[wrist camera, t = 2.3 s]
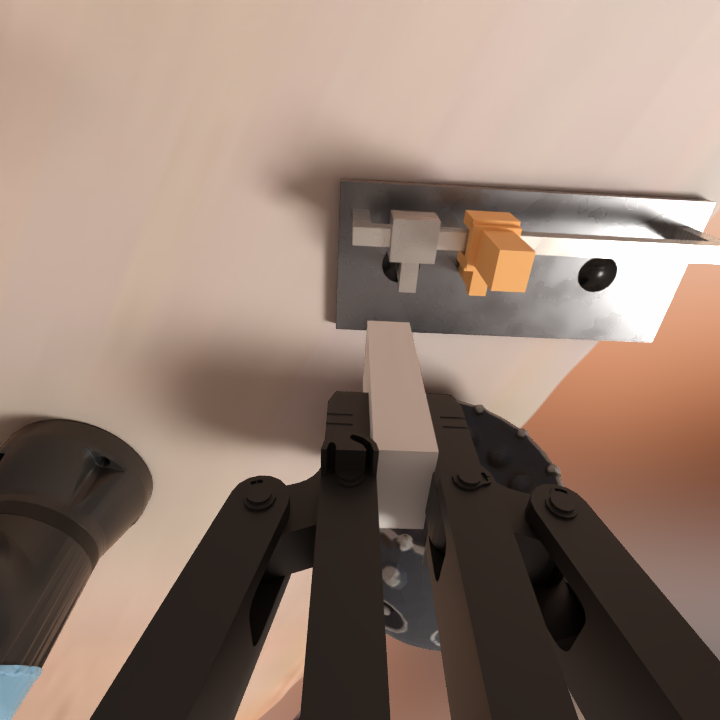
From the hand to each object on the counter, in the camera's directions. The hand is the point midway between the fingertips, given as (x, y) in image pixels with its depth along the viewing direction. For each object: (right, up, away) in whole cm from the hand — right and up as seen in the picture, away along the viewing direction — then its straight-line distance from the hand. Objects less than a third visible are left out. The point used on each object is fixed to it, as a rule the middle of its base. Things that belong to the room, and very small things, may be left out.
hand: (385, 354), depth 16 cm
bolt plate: (+11, +8, +20) cm, 24 cm away
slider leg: (+7, +9, +18) cm, 21 cm away
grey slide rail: (+11, +9, +19) cm, 24 cm away
